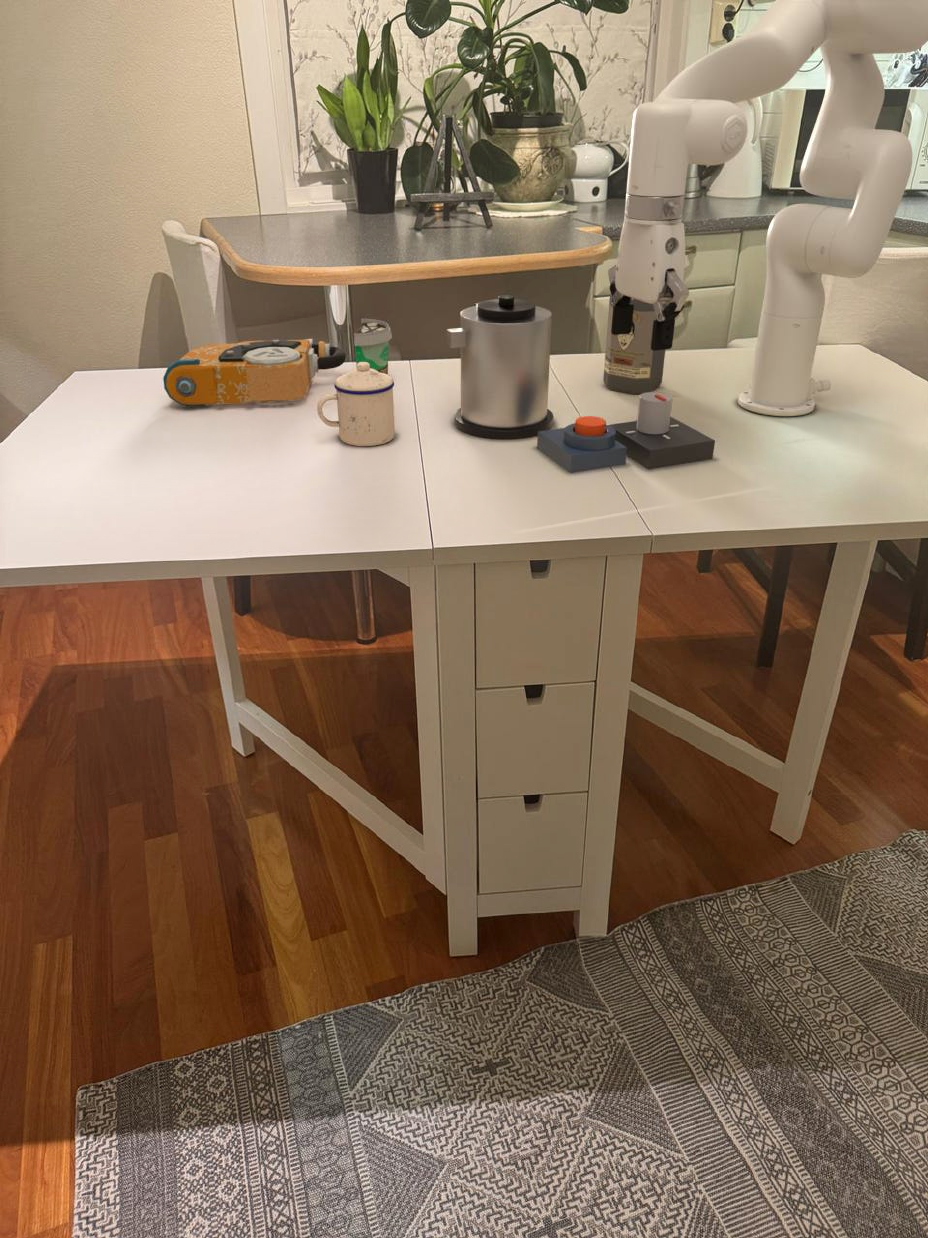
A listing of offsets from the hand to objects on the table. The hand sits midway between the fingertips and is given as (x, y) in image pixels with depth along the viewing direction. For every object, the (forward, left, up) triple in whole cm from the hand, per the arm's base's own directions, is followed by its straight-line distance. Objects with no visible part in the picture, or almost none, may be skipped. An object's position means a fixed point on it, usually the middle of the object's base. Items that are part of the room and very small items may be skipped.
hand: (640, 341), depth 129 cm
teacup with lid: (+36, -21, -17) cm, 45 cm away
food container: (+24, -50, -17) cm, 58 cm away
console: (-4, +1, -17) cm, 17 cm away
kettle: (+13, -21, -16) cm, 30 cm away
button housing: (+8, -1, -17) cm, 18 cm away
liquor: (-18, -29, -17) cm, 38 cm away
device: (+45, -52, -17) cm, 71 cm away
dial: (-4, 0, -13) cm, 14 cm away
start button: (+7, 0, -12) cm, 14 cm away
